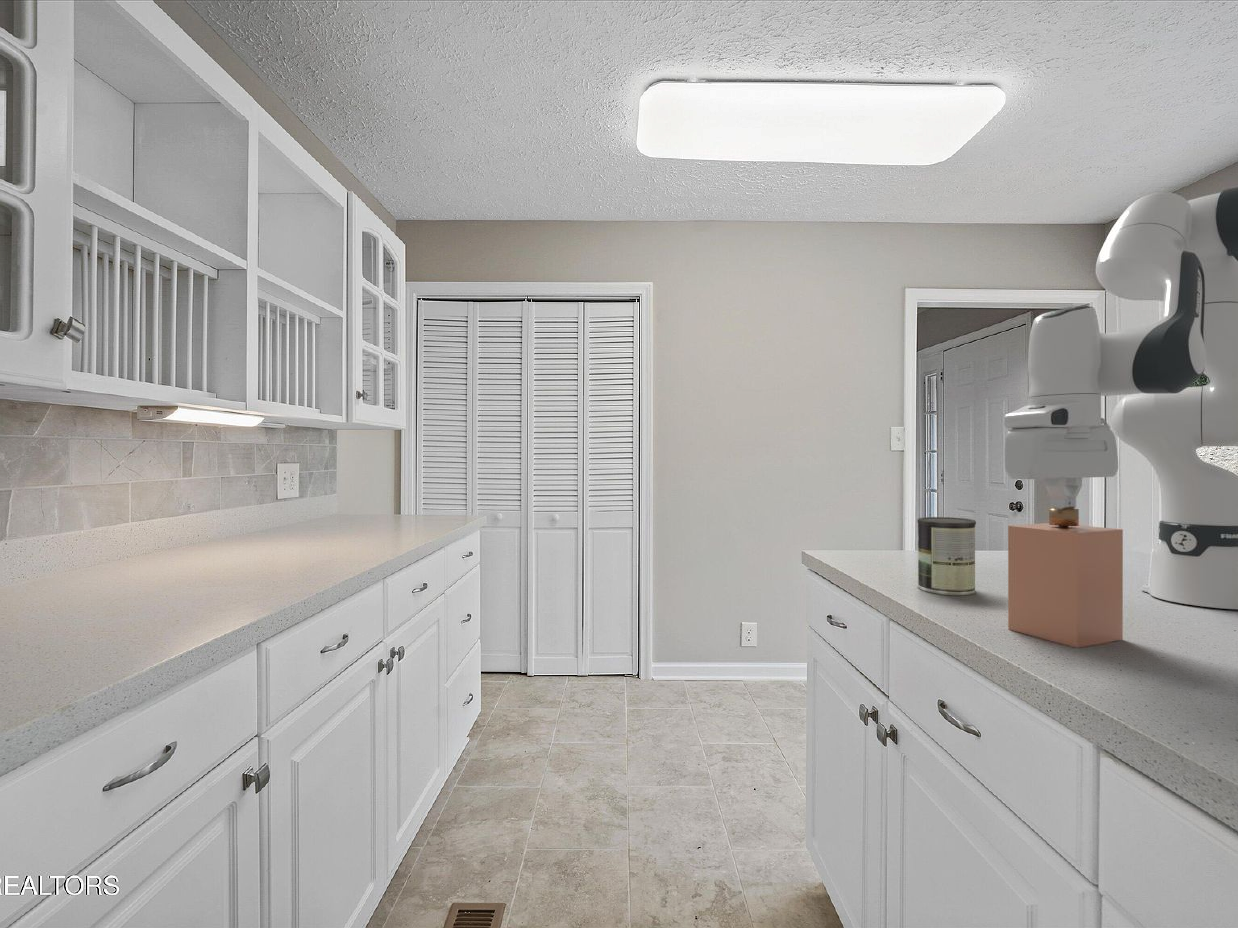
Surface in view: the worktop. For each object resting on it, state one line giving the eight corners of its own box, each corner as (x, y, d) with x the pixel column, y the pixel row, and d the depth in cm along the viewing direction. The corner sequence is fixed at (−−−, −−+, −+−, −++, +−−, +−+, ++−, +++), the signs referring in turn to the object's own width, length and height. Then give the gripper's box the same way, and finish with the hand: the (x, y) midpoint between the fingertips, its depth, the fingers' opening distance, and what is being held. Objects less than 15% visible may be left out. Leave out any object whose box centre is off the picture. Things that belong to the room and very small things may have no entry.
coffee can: (906, 588, 124) (906, 518, 124) (936, 582, 129) (936, 515, 129) (957, 598, 115) (956, 523, 115) (986, 591, 120) (986, 520, 120)
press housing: (1052, 622, 98) (1052, 522, 98) (1122, 639, 89) (1122, 529, 88) (1008, 629, 94) (1008, 525, 94) (1077, 647, 85) (1077, 533, 85)
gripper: (1086, 418, 98) (1086, 504, 98) (995, 416, 90) (995, 509, 90) (1131, 416, 92) (1131, 507, 92) (1038, 413, 84) (1038, 513, 85)
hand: (1063, 508), depth 91 cm, fingers closed, pressing on plunger
